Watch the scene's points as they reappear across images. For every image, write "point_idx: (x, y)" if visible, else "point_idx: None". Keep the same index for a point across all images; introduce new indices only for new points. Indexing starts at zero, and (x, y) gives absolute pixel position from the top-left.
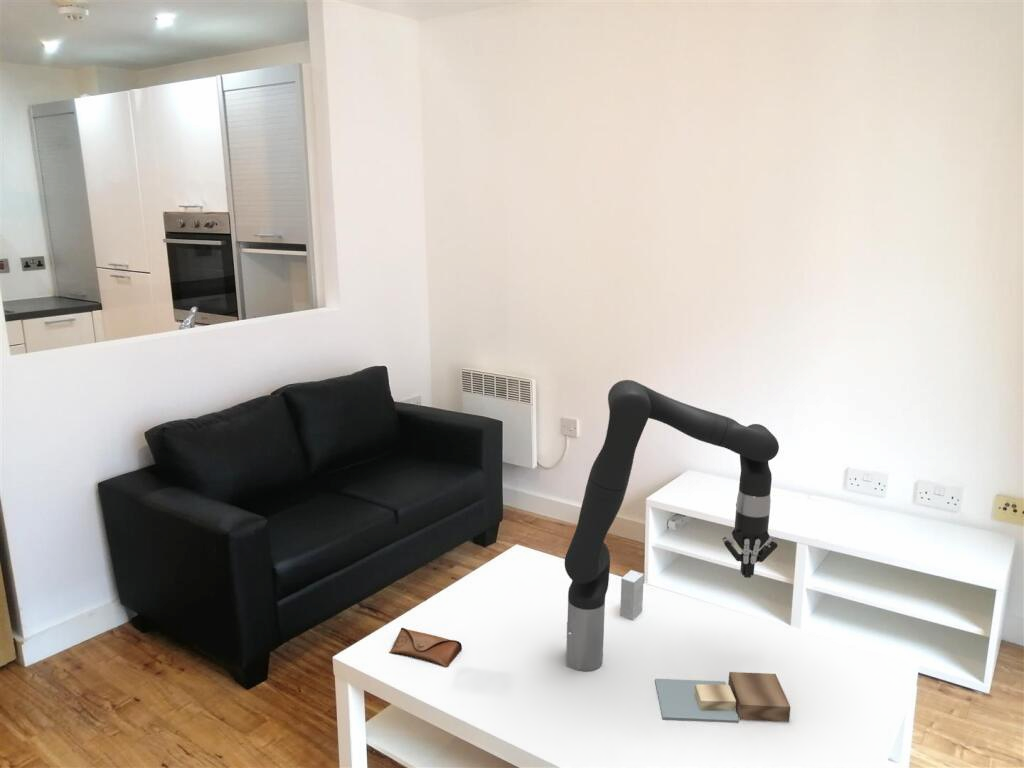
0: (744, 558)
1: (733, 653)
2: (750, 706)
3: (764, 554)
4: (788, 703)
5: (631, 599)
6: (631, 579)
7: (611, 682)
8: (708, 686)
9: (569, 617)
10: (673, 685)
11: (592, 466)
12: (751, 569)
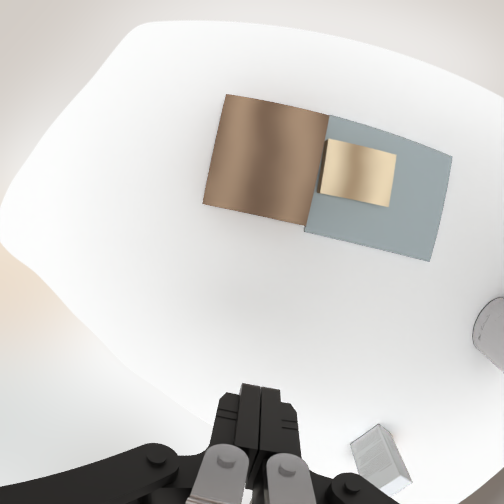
0: (305, 490)
1: (241, 321)
2: (309, 110)
3: (113, 488)
4: (224, 104)
5: (392, 451)
6: (399, 481)
7: (485, 266)
8: (365, 195)
9: None
10: (408, 236)
11: None
12: (239, 417)
